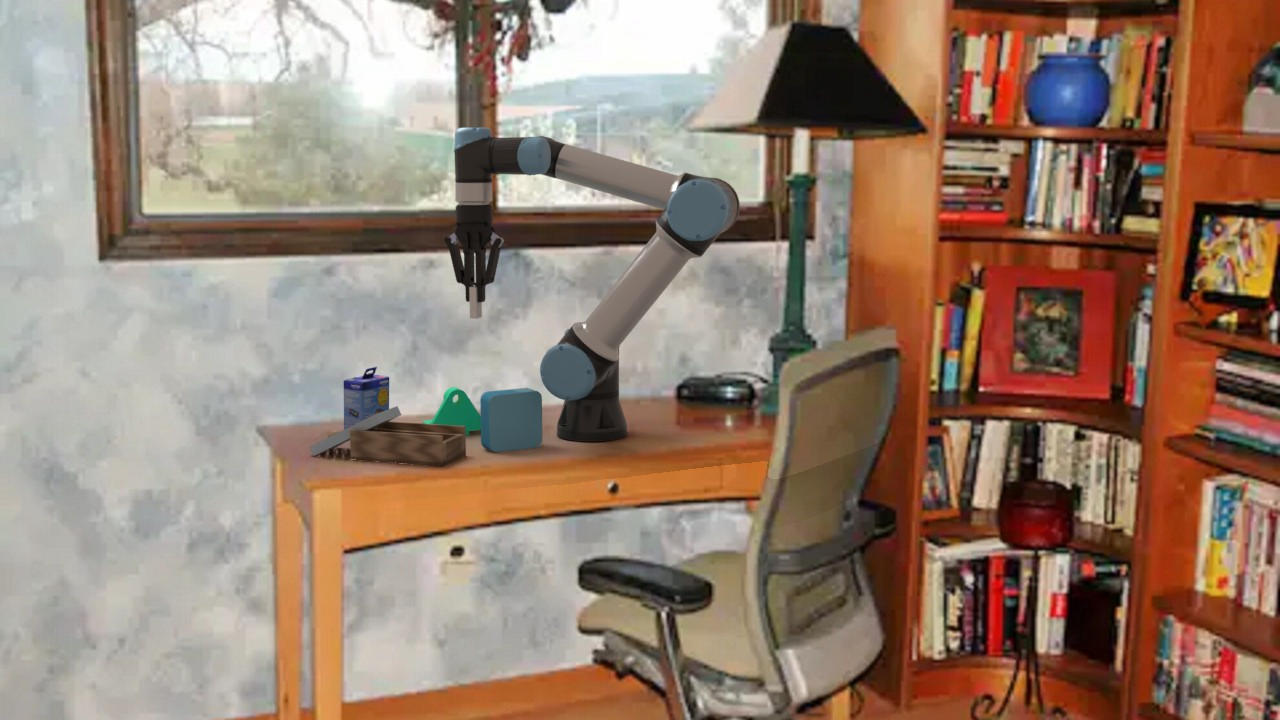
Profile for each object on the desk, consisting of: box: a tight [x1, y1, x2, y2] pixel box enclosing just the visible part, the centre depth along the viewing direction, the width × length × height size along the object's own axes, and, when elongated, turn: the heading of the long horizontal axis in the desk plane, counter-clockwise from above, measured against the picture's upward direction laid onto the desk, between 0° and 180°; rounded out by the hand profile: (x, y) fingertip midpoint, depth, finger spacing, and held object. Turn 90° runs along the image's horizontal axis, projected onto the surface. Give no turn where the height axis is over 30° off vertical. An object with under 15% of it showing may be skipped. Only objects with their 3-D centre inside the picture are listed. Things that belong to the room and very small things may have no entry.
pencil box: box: [349, 420, 467, 468], centre depth 307 cm, size 20×11×6 cm, turn 72°
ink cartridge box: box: [343, 366, 390, 430], centre depth 331 cm, size 10×6×14 cm, turn 152°
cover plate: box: [308, 405, 402, 457], centre depth 310 cm, size 17×9×3 cm, turn 72°
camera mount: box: [422, 386, 481, 436], centre depth 332 cm, size 12×8×10 cm, turn 113°
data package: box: [479, 387, 543, 454], centre depth 316 cm, size 12×4×12 cm, turn 121°
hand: (475, 317), depth 318 cm, fingers closed
